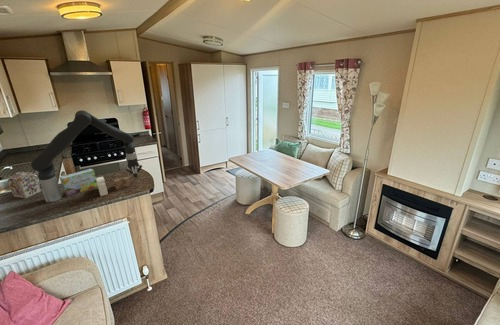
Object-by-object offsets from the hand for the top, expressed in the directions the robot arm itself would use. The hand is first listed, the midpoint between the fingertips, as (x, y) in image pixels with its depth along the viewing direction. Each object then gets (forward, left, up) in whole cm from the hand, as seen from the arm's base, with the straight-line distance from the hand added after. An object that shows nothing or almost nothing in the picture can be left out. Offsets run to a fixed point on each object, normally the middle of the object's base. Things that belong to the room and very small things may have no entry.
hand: (135, 177), depth 196 cm
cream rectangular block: (-25, -1, -5) cm, 25 cm away
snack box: (-38, +10, -5) cm, 40 cm away
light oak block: (-10, 0, -5) cm, 11 cm away
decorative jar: (-72, +27, -5) cm, 77 cm away
